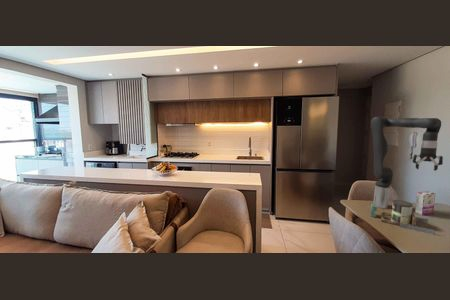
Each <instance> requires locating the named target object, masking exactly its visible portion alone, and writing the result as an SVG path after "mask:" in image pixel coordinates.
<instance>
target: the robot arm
mask: <svg viewBox="0 0 450 300" xmlns="http://www.w3.org/2000/svg"><path fill="white" fill-rule="evenodd" d="M392 127H394V128H395V127H396V128H409V129H411V128H412V129H414V128H417V129H418V128H419V129H425V132H423V134H422V140H421V145H420V153H419V154H414V155H413V157H412V163H414V164H415V169H416V170H419V168H420V164H421V163H422V162H430V163H431V162H432V163H433V164H434V166H433V171H435V172H436V171H437V170H438V168H439V166H442V165H443V159H444V157H443V156H442V155H437V148H438V140H439V139H438V138H439V137H438V135H439V132H440V131H441V127H442V121H441V119H440V118H437V117H427V118H426V117H424V118H419V117H405V118H404V117H403V118H390V117H384V116H374V117H373V118H372V119H371V121H370V128H371V133H372V143H373V145H372V146H373V174H374V177H375V178H377V179H379V180H377V181H375V184H374V187H375V188H374V194H373V202H372V204H375V205H377V208H381V209H387V208H388V207H389V197H390V187H391V185H392V182H393V176H394V175H393V173H394V172H393V170H392V168H391V167H388V166H384V160H385V158H386V156H387V154H388V152H389V146H388V140H387V138H386V137H385V135H384V131H383V130H384V128H392ZM418 158H419V159H418ZM417 159H418V160H417ZM436 159H437V160H438V162H437V161H436Z"/></svg>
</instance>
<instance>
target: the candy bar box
mask: <svg viewBox="0 0 450 300" xmlns="http://www.w3.org/2000/svg"><path fill="white" fill-rule="evenodd" d="M435 201H436V192H432V191H429V190H428V191H418V192H417V193H416V200H415V212H414V214H415V213H416V214H418V215H422V216H424V215H426V216H427V215H431V214H434V208H435Z"/></svg>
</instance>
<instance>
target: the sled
mask: <svg viewBox="0 0 450 300" xmlns="http://www.w3.org/2000/svg"><path fill="white" fill-rule="evenodd" d="M377 208H378V207H377V205H375V204H373V203H371V205H370V217H372V218H380V221H381V222H383V223H386V224H387V223H388V224H392V225H397V226H400V222H395V221H392V220H391V219H390V220H389V219H385V218H384V216H390V217H391V215H392V212H387V211H381V210H380V212H379V213H380V214H377V212H378V211H377V210H378V209H377ZM416 217H417V216H415V212H414V211H413V210H412V214H411V222H410V225H412V226H417V221H416ZM403 224H405V223H403ZM408 225H409V224H408Z"/></svg>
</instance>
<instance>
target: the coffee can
mask: <svg viewBox="0 0 450 300" xmlns="http://www.w3.org/2000/svg"><path fill="white" fill-rule="evenodd" d="M413 207H414V204H413V203H411V202H409V201H406V200H401V199H393V200H392V207H391V213H392V215H391V216H390V217H391V218H390V220H391V221H395V222H400V223H405V224H409V225H411V224H410V222H411V214H412V211H413Z"/></svg>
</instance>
